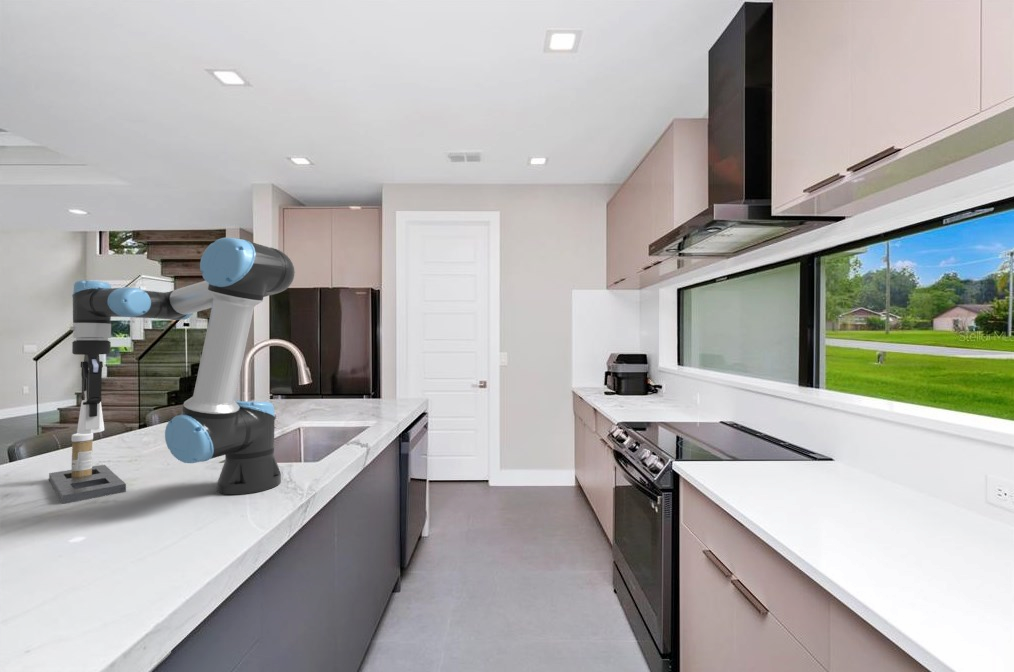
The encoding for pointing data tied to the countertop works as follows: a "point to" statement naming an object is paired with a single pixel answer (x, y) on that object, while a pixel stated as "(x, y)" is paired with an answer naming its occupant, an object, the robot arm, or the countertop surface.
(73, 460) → the sprinkles bottle
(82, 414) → the pepper shaker
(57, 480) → the bolt plate
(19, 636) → the countertop surface
